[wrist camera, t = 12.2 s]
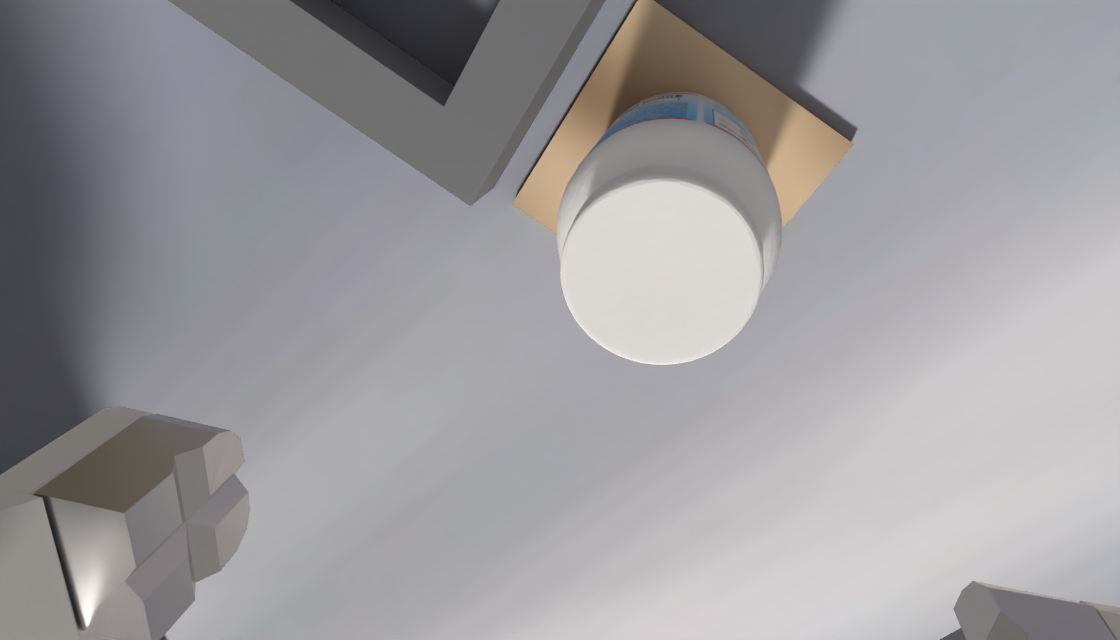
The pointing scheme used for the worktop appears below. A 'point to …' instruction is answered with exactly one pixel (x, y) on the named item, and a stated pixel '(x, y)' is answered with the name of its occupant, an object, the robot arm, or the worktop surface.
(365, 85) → the grey square bottle holder
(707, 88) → the cork pad
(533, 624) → the worktop surface
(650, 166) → the pill bottle
